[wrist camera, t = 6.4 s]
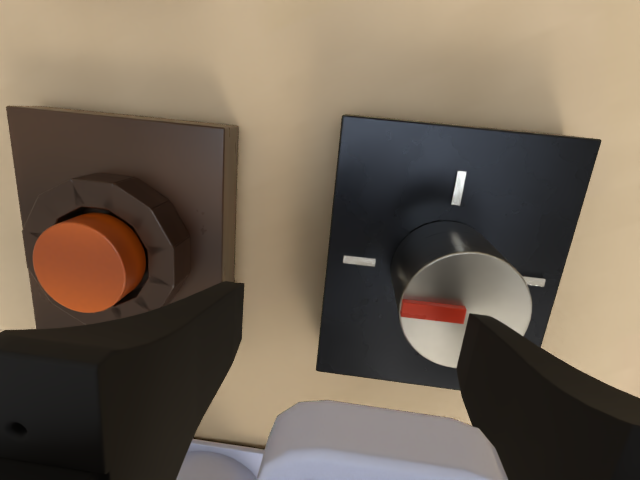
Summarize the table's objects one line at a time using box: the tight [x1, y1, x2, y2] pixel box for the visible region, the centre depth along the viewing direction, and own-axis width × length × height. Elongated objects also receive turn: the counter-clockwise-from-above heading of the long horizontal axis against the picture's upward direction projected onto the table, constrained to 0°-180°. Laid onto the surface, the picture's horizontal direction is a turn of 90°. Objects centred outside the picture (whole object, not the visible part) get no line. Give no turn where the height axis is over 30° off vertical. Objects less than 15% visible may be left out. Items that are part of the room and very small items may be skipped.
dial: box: [391, 221, 532, 368], centre depth 16 cm, size 4×4×4 cm
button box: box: [6, 106, 238, 329], centre depth 20 cm, size 12×10×4 cm
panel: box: [316, 114, 601, 390], centre depth 19 cm, size 12×10×3 cm
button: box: [33, 212, 146, 313], centre depth 18 cm, size 4×4×2 cm
